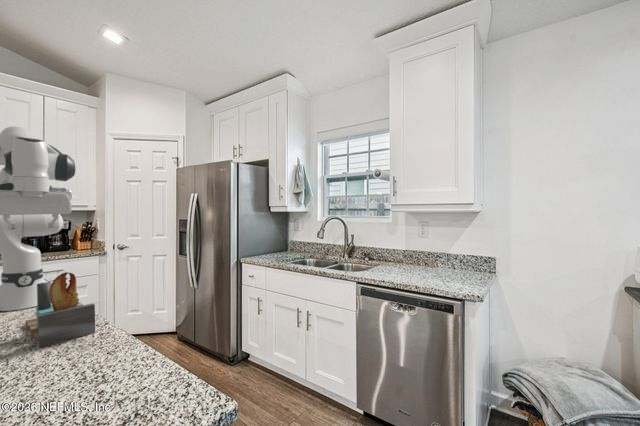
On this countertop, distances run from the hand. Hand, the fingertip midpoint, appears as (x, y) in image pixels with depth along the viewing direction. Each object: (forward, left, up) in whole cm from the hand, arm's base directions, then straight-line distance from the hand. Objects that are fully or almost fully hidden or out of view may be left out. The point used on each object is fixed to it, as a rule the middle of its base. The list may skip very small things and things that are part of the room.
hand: (32, 228), depth 98 cm
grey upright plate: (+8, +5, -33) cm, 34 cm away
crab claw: (+16, +5, -33) cm, 37 cm away
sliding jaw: (+10, +5, -31) cm, 33 cm away
